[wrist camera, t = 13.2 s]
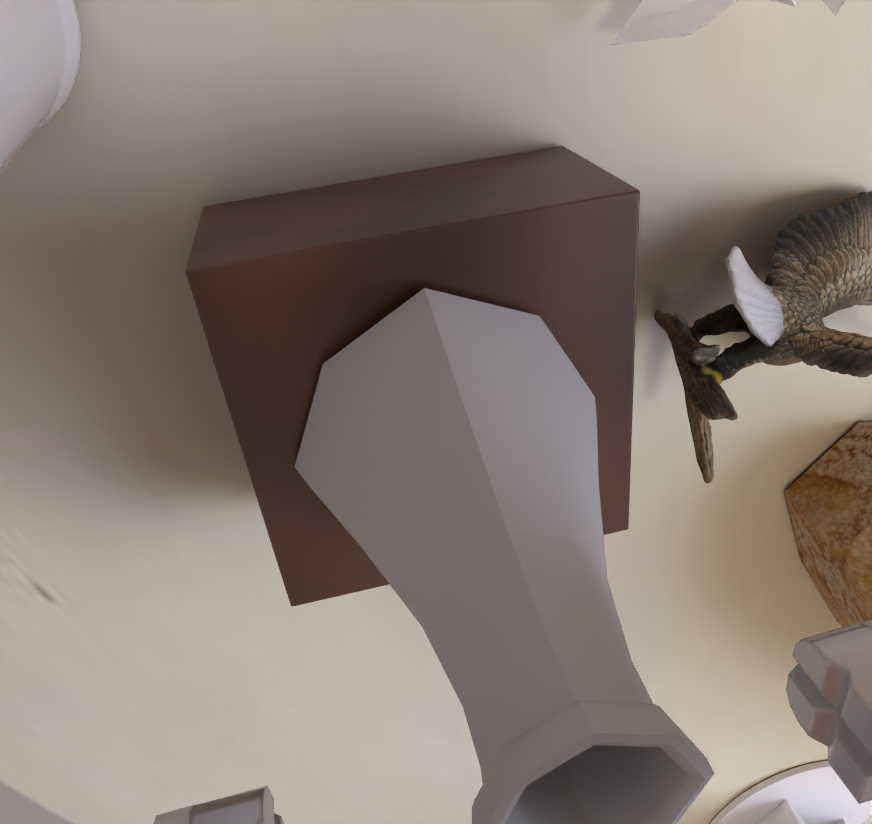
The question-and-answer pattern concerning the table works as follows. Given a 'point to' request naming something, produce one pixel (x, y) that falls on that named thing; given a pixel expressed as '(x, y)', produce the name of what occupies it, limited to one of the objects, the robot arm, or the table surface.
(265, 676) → the table surface
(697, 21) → the white bird figurine
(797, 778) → the panda figurine
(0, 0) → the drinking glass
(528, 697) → the flask
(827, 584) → the brown rock
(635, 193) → the walnut block
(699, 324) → the eagle figurine
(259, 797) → the robot arm
